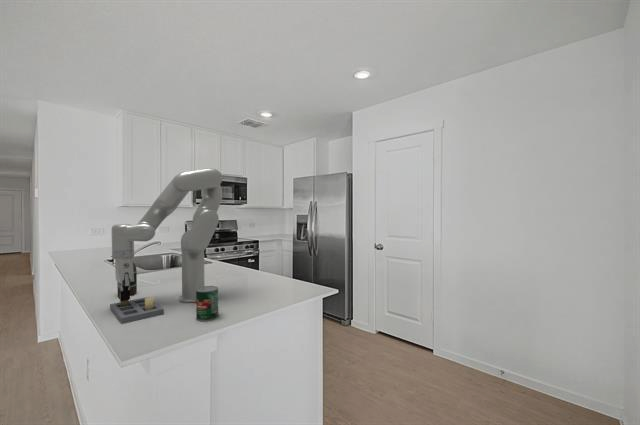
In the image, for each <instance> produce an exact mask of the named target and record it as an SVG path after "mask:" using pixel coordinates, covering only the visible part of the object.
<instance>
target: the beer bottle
mask: <svg viewBox="0 0 640 425" xmlns="http://www.w3.org/2000/svg"><path fill="white" fill-rule="evenodd" d="M136 266H137V265H136V264H135V263H134V262H133V271H134V282H131V281H129V285H130V297H132V296H135V295H137V291H138V285H137V284H138V282H137V280H138V278H137V277H138V276H137V274H138V273H137V267H136ZM116 282H117V281H116ZM116 284H117V286H116V287H117V290H118V289H119V282H117V283H116Z"/></svg>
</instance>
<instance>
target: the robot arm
mask: <svg viewBox="0 0 640 425" xmlns="http://www.w3.org/2000/svg"><path fill="white" fill-rule="evenodd" d="M222 182H223V174H222V173H221V171H219V170H218V169H216V168H206V169H205V168H204V169H198V170H191V171H184V172H183V171H182V172H180V173H178V174H177V175H175V176H174V177H173V179H171V181H170V182H169V183H168V184H167V186H165V188H164V189H163V190H162V192H161V193H160V195H159V196H158V197H157V198H156V200H155V201H154V202H153V204H152V205H151V207H150V208H149V209H148V210H147V212H146V213H145V214H144V215H143V217H142V218H141V219H140V220H139V221H138V223H137V224H131V223H130V224H129V223H125V224H119V223H118V224H113V225H112V227H111V259H112V260H114V261H115V264H114V266H115V268H114V269H115V273H114V274H115V281H116V282H119V289H118V288H117V296H118V300H119V301H120V300H121V301H126V300H129V301H130V300H131V296H130V285H129V281H131V282H134V271H133V263H134V262H133V258H135V242H148V241H151V240H152V239H154V237H155V235H156V230H157V229H158V228H159V226H160V225H161V224H162V223H163V221H165V219H167V218H168V217H169V216H170V215H171V214H172V213H174V212H175V211H176V209H177V208H179V207H178V206H179V205H180V204H181V203H182V201H184V199H185V197H186V196H187V195H188V194H189V192H193V191H200V190H201V191H202V190H203V195H202V197H201V200H200V202H199V204H198V206H197V208H196V210H195V212H194V213H193V215H192V222H193V224H192V226H191V228H190V229H189V230H187V231H185V232H183V234H182V235H181V237H180V238H181V239H180V249H181V295H180V296H178V299H177V300H178V302H180V303H187V304H188V303H196V289H197V288H200V287H204V286H205V250H206V249H207V248H208V246H209V244H210V242H211V240H212V238H213V236H214V234H215V232H216V230H217V227H218V224H219V220H220V219H219V214H218V211H219V208H220V205H221V203H222V201H223V191H222V190H223V189H222V187H221V184H222ZM120 285H121V291H120ZM123 285H124V286H123Z"/></svg>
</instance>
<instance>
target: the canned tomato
mask: <svg viewBox="0 0 640 425" xmlns="http://www.w3.org/2000/svg"><path fill="white" fill-rule="evenodd" d="M195 307H196V309H195V310H196V315H195V317H196V320H197V321H199V322H210V321H213V320H216V319H218V318H219V287H218V286H215V285H204V287H200V288H197V289H196V302H195Z"/></svg>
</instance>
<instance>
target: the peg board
mask: <svg viewBox="0 0 640 425" xmlns="http://www.w3.org/2000/svg"><path fill="white" fill-rule="evenodd" d="M109 309H110V311H111V312H112V314H113V315H114V316H115V317H116V319H117V320H118V322H120V324H121V325H122V324H127V323H132V322H135V321H140V320H143V319H144V320H146V319H149V318H152V317H157V316H162V315H164V314H165V310H164V307H162V306H160V305H159V304H158V303H157V302H155V298H154V296H147V297H140V298H136V299H132V300H131V299H130V300H129V305H128V306H123V307H120V301H118V302H114V303H109Z"/></svg>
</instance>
